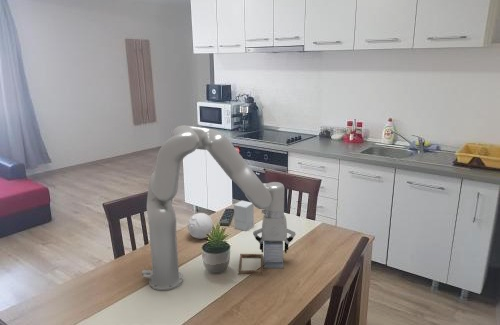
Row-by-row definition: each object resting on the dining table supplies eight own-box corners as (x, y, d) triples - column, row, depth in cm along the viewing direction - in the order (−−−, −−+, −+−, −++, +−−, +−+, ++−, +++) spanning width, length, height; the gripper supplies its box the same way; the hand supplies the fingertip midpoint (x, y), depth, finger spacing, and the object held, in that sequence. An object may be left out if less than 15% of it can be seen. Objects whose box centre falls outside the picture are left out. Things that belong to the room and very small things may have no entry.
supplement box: (254, 225, 188) (254, 202, 185) (246, 231, 182) (246, 207, 179) (242, 222, 192) (241, 199, 189) (233, 228, 186) (233, 204, 183)
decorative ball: (183, 236, 177) (182, 213, 174) (204, 229, 185) (203, 207, 181) (196, 245, 168) (195, 221, 165) (218, 237, 176) (217, 214, 173)
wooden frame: (238, 274, 146) (238, 271, 145) (240, 256, 159) (240, 253, 158) (262, 274, 145) (262, 271, 145) (262, 257, 158) (262, 254, 158)
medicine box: (282, 257, 157) (282, 239, 154) (282, 263, 152) (283, 244, 150) (263, 257, 157) (263, 238, 155) (263, 263, 153) (263, 243, 150)
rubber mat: (264, 268, 150) (264, 267, 150) (264, 254, 160) (264, 253, 160) (283, 268, 149) (283, 267, 149) (282, 254, 160) (282, 253, 160)
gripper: (252, 216, 146) (252, 255, 150) (296, 216, 145) (295, 256, 150) (253, 209, 153) (253, 246, 158) (295, 209, 152) (294, 247, 157)
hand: (273, 251), depth 154 cm, fingers open, 9 cm apart
